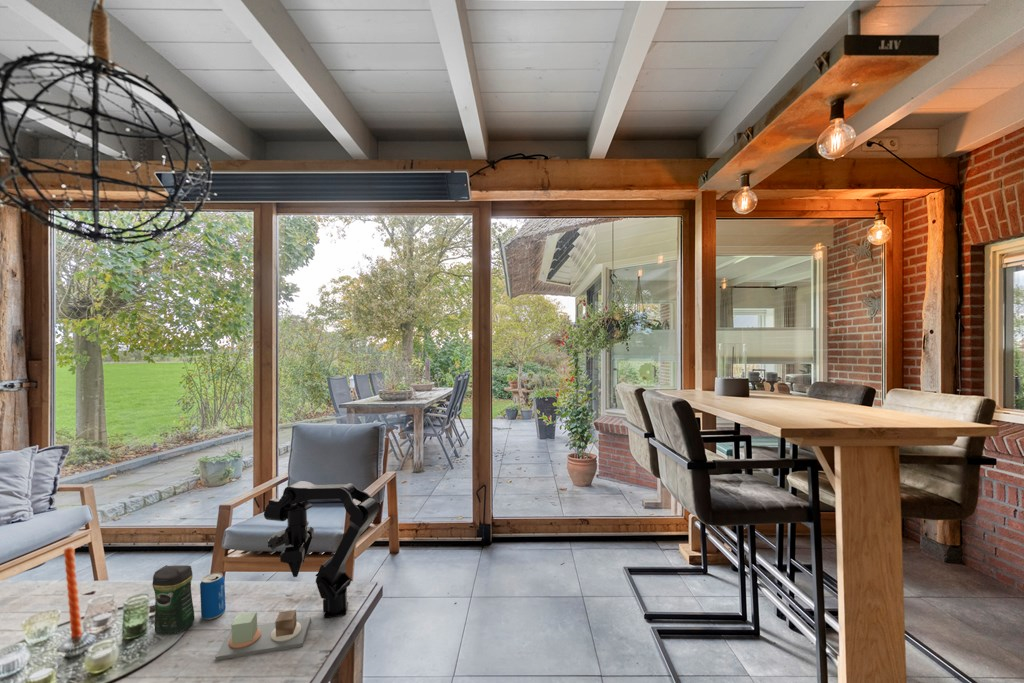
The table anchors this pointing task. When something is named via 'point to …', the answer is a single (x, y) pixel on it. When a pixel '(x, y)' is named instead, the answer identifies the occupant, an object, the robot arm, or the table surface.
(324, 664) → the table surface
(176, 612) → the coffee jar
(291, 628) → the walnut block
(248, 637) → the sage block
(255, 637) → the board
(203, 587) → the beverage can
